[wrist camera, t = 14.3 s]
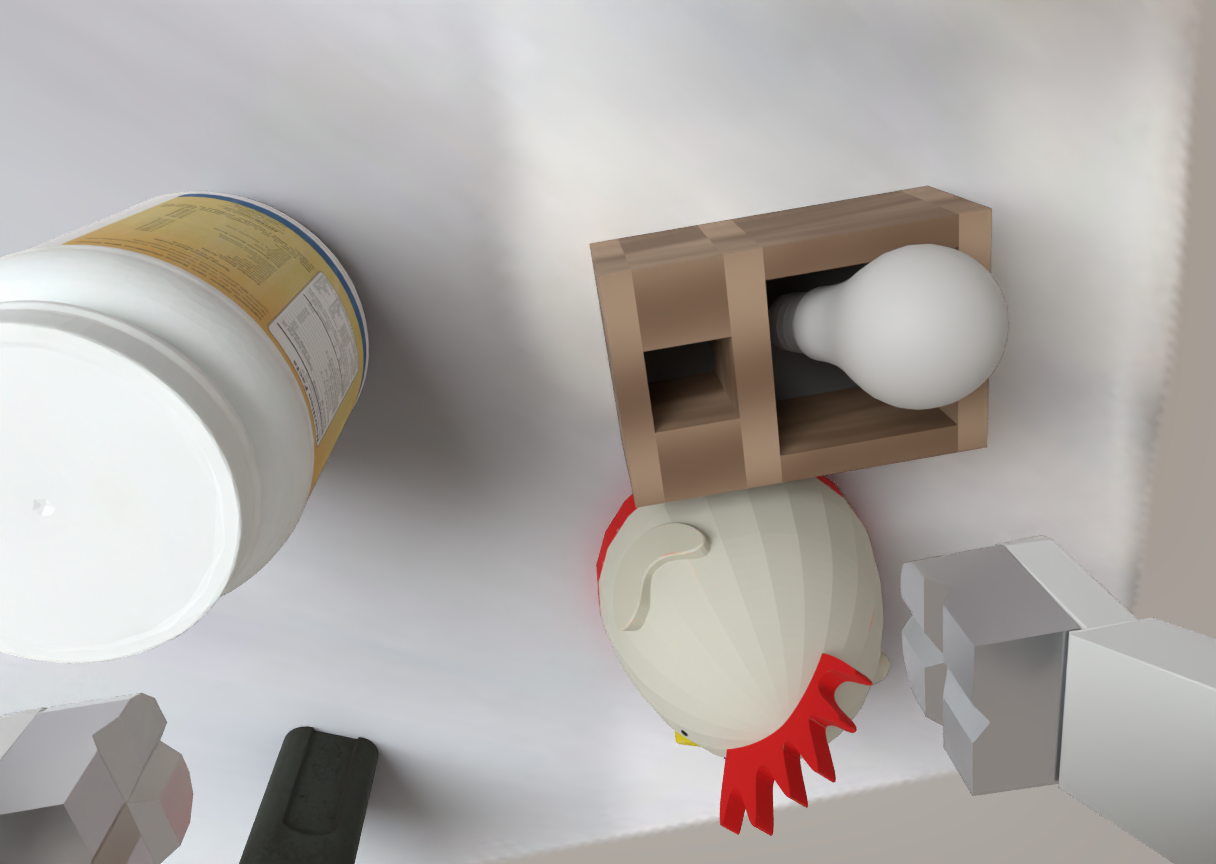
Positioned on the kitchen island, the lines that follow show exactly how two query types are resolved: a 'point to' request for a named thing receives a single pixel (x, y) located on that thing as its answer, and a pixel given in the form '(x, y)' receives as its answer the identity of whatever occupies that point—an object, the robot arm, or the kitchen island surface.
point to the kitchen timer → (748, 628)
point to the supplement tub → (162, 416)
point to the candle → (313, 801)
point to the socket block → (764, 347)
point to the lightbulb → (902, 326)
